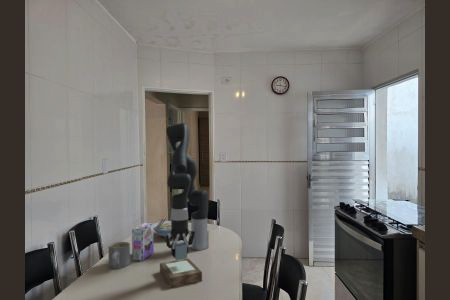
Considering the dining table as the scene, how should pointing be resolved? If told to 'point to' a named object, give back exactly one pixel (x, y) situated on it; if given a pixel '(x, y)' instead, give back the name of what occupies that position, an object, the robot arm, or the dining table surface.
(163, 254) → the dining table surface
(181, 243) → the slate block
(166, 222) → the ramen bowl
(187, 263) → the walnut base
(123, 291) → the dining table surface
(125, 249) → the coffee mug
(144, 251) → the candy box
